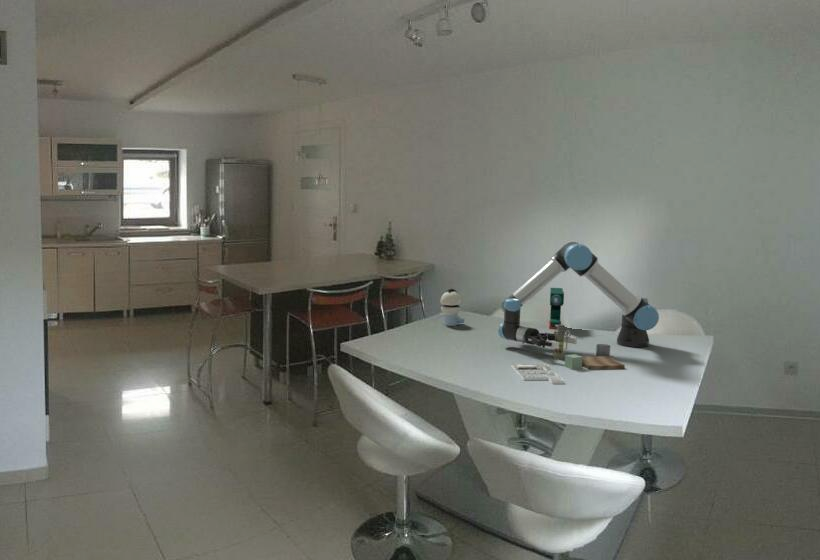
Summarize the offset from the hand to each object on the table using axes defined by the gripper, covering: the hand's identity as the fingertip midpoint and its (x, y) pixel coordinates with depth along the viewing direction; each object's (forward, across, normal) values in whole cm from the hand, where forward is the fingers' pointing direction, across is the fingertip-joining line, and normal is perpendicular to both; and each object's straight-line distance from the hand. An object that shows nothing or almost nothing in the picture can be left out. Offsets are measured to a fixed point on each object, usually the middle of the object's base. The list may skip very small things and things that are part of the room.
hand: (567, 343), depth 300 cm
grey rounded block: (+7, -19, -8) cm, 21 cm away
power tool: (-44, -55, -8) cm, 71 cm away
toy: (-87, -19, -8) cm, 89 cm away
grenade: (-3, 0, -8) cm, 8 cm away
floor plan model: (+6, +30, -8) cm, 32 cm away
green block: (+9, +9, -8) cm, 15 cm away
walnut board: (+13, -4, -8) cm, 16 cm away
